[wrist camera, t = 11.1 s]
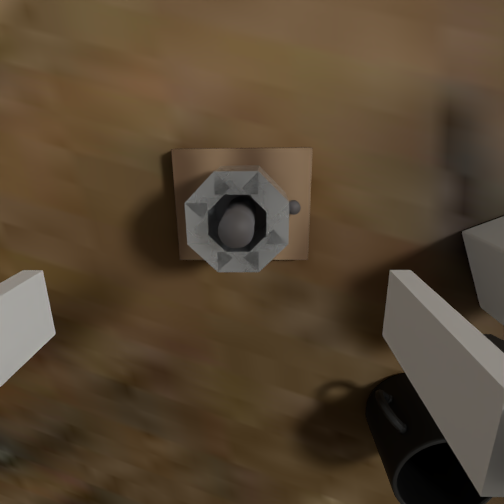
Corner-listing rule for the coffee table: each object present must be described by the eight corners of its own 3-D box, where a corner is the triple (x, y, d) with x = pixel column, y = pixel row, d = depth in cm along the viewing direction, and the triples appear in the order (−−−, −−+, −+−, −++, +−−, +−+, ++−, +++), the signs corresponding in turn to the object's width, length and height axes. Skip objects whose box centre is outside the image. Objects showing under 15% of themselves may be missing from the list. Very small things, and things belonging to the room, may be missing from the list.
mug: (399, 340, 37) (441, 401, 29) (467, 407, 40) (525, 482, 31) (331, 392, 39) (351, 463, 31) (400, 452, 42) (435, 534, 33)
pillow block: (183, 254, 35) (153, 299, 25) (175, 148, 32) (138, 154, 22) (306, 254, 34) (322, 299, 25) (310, 147, 31) (331, 152, 22)
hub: (200, 251, 32) (189, 272, 27) (195, 166, 29) (182, 171, 24) (283, 251, 31) (287, 272, 27) (285, 165, 29) (290, 170, 24)
